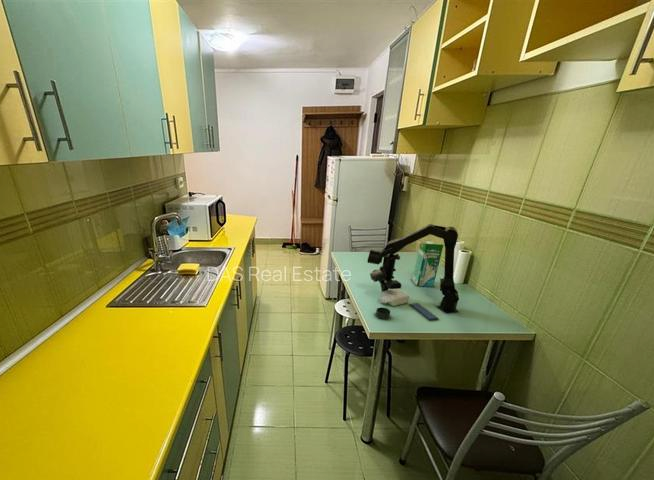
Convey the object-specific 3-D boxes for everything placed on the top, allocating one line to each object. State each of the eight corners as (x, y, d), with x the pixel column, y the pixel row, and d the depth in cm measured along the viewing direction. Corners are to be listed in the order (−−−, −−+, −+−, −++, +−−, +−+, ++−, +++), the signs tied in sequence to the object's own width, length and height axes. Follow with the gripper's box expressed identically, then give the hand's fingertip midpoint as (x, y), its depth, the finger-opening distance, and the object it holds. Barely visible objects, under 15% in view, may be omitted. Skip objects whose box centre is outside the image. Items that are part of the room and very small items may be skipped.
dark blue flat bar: (417, 304, 151) (417, 302, 151) (438, 319, 138) (438, 318, 138) (409, 305, 150) (409, 303, 150) (429, 320, 137) (429, 319, 137)
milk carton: (427, 280, 179) (437, 239, 169) (433, 287, 171) (443, 244, 161) (412, 279, 180) (420, 239, 170) (416, 286, 172) (426, 243, 162)
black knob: (384, 312, 143) (385, 306, 142) (391, 318, 138) (393, 312, 136) (373, 313, 142) (374, 307, 140) (379, 320, 136) (381, 314, 135)
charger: (371, 301, 153) (394, 295, 159) (384, 309, 146) (407, 303, 152) (373, 292, 152) (395, 287, 158) (386, 300, 144) (409, 295, 150)
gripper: (365, 260, 158) (361, 287, 165) (383, 274, 142) (378, 303, 148) (384, 259, 161) (379, 285, 167) (404, 272, 144) (398, 301, 150)
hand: (383, 293), depth 158 cm, fingers closed
